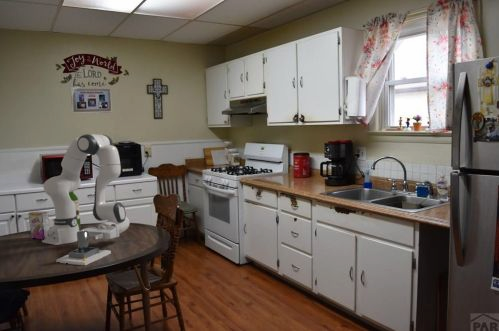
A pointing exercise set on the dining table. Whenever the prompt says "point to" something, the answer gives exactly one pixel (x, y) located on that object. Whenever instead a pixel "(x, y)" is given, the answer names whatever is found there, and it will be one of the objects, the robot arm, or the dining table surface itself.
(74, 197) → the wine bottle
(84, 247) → the battery cell
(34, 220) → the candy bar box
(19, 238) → the dining table surface
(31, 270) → the dining table surface
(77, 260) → the white board with tray
